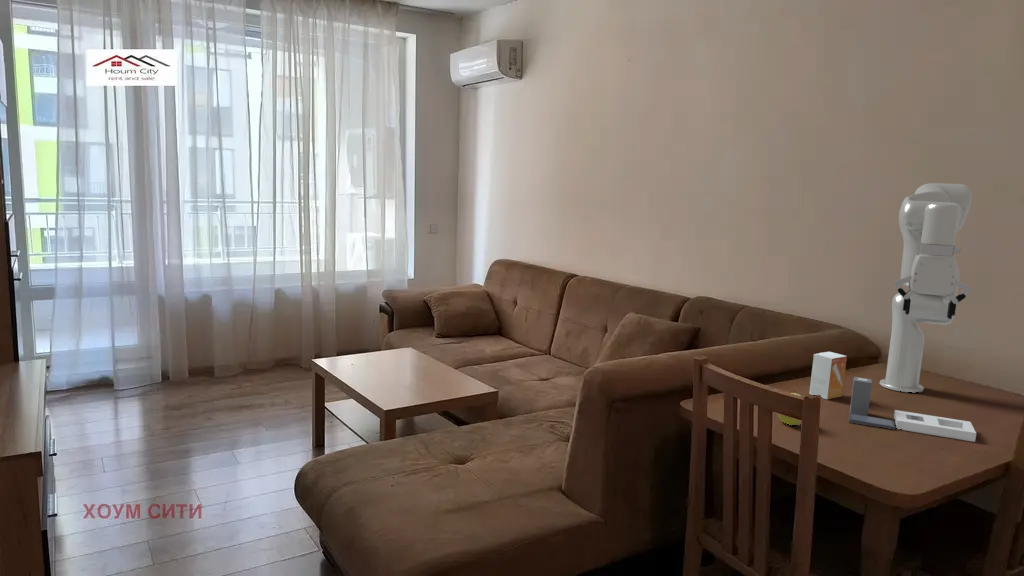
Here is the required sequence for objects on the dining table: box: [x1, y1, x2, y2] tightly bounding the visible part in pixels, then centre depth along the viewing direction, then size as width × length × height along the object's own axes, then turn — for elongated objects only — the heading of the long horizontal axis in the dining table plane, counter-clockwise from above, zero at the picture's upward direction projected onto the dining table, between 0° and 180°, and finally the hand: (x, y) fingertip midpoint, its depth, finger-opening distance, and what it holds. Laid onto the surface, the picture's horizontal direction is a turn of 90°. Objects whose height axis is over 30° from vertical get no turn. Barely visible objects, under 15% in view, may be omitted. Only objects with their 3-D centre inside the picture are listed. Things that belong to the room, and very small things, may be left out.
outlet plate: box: [893, 409, 977, 443], centre depth 188 cm, size 10×18×3 cm, turn 64°
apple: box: [777, 390, 802, 427], centre depth 188 cm, size 8×8×10 cm
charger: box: [849, 376, 873, 416], centre depth 199 cm, size 4×4×10 cm
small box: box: [809, 351, 848, 400], centre depth 215 cm, size 8×6×13 cm
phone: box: [848, 412, 896, 431], centre depth 192 cm, size 6×11×1 cm, turn 65°
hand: (927, 315), depth 183 cm, fingers open, 9 cm apart
